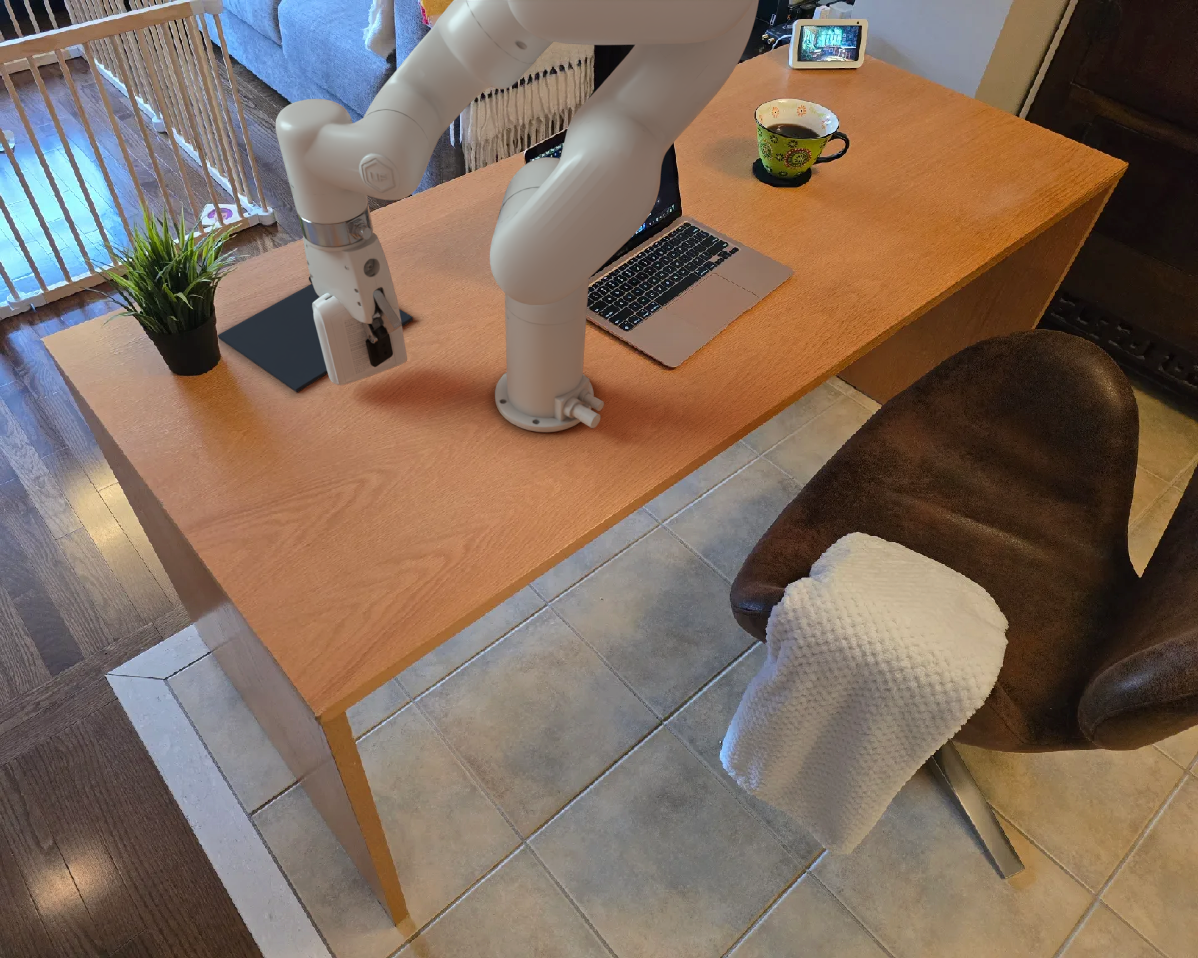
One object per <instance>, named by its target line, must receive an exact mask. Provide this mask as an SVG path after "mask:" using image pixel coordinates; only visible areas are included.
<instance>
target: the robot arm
mask: <svg viewBox="0 0 1198 958" xmlns="http://www.w3.org/2000/svg"><path fill="white" fill-rule="evenodd" d="M759 1H760V0H453V1H451V3H450V4H449V5H448V6H447V8H446V9H445V10H444V11H443V13H441V15H440V16H439V17H438V18H437V19H436V21H435V22H434V25H433V26H432V27H431V29H430V30H429V31H428V32H427V33H426V34H425V35H424V37H422V39H420V41H419V42H418V43H417V45H416V46H415V47H414V48H413V50H411V51H410V53H409V54H408V55H407V57H406V58H405V59H404V60H403V62H401V64H400V65H399V66H398V68H397V69H396V70H395V71H394V72H393V74H392V75H391V76H390V77H389V78H388V80H387V81H386V82H385V83H384V84H383V86H382V87H380V88H381V89H380V90H379V91H378V93H377V94H376V95H375V97H374V98H373V100H372V102H371V103H370V104H369V106H368V108H367V110H366V112H365V113H364V115H363V117H362V118H361V119H359V120H357V121H355V122H353V119H352V116H351V115H350V113H349V112H348V111H347V109H346V108H345V106H343V105H341V104H340V103H338V102H336V101H334V100H329V99H325V98H308V99H307V98H306V99H302V100H297V101H294V102H292V103H290V104H288V105H286V106H285V107H283V109H281V110H280V111H279V113H278V114H277V117H276V120H275V132H276V138H277V141H278V145H279V149H280V153H281V156H282V161H283V164H284V168H285V172H286V175H287V180H288V184H289V187H290V191H291V195H292V198H293V203H294V207H295V210H296V213H297V214H296V215H297V217H298V221H299V225H300V229H301V232H302V240H303V246H304V254H305V259H306V264H307V268H308V273H309V277H308V282H309V283H310V284H312V285H313V287H314V289H315V292H316V293H317V295H318V296H319V298H320V297H321V296H323V295H324V294H326V293H329V294H330V295H331V296H334V297H336V298H337V299H338V300H339V301H340V302H341V303H342V304H343V306H344V307H345V308H346V310H347V311H348V313H349V314H350V316H351V317H353V318H355V319H356V320H358V321H360V322H361V323H362V325H363V327H364V330H365V332H366V334H367V337H368V339H367V340H366V346H367V351H368V355H369V360H370V364H371V365H372V366H373V367H377V366H378V365H380V364H381V363H383V362H384V361H386V360H387V359H389V358H390V357H392V355H393V350H392V345H391V340H390V335H389V333H391V332H393V331H395V330H396V329H398V328H399V327H401V326H402V323H401V321H400V320H399V318H398V317H397V315H396V314H395V312H394V310H393V309H395V308H397V300H398V298H397V299H396V295H397V293H396V291H395V290H396V289H395V285H394V280H393V278H392V273H391V270H390V266H389V263H388V259H387V257H386V254H385V251H384V249H383V246H382V243H381V241H380V239H379V237H378V235H377V234H376V233H375V232H374V226H373V220H372V216H371V210H370V206H369V205H370V204H369V200H368V197H371V198H374V199H379V200H385V201H399V200H403V199H406V198H407V197H410V196H411V195H412V194H414V192H416V190H417V189H418V188H419V186H420V184H421V182H422V179H423V177H424V174H425V173H426V170H427V167H428V165H429V163H430V160H431V157H432V155H433V153H434V150H435V149H436V146H437V144H438V142H439V140H440V138H441V137H442V136H443V134H444V133H445V132H446V130H448V128H449V127H450V126H451V125H452V124H453V123H454V122H455V120H456V119H458V117H459V116H460V115H461V114H462V113H463V112H464V111H465V109H467V108H468V106H470V104H471V103H472V102H474V100H475V99H476V98H477V97H478V96H480V95H481V94H482V93H484V92H485V91H486V90H488V89H490V88H493V89H496V90H506V89H509V88H511V87H512V86H514V85H515V84H516V83H517V82H518V81H519V80H520V79H521V78H522V77H523V76H524V75H525V73H526V72H527V71H528V70H529V69H530V68H531V67H532V66H533V65H534V64H535V63H536V62H537V60H538V59H539V58H540V57H541V56H542V55H543V54H544V53H545V51H546V50H547V49H548V48H549V47H550V46H551V45H552V44H553V43H558V44H565V45H580V46H581V45H583V46H584V45H585V46H586V45H587V46H624V45H625V46H627V45H631V46H632V45H633V47H632V48H631V50H630V51H629V52H628V54H627V55H626V56H625V57H624V58H623V59H622V60H621V61H620V62H619V64H618V65H617V66H616V67H615V68H614V70H613V71H612V72H611V73H610V75H608V77H607V78H606V79H604V81H603V82H602V83H601V84H600V86H599V87H598V88H597V89H596V90H595V91H594V92H593V93H592V94H591V95H590V96H589V97H588V98H587V100H586V101H584V103H583V104H581V106H580V107H579V108H578V109H577V111H576V112H575V113H574V115H573V116H572V118H571V120H570V122H569V124H568V127H567V130H566V133H565V138H564V142H563V145H562V150H561V154H560V158H558V157H549V156H548V157H539V158H535V159H534V160H531V161H528V162H527V163H526V164H524V165H523V166H521V167H520V168H519V169H518V170H517V172H516V173H515V174H514V175H513V176H512V177H511V180H510V181H509V183H508V185H507V188H506V190H505V192H504V195H503V198H502V201H501V205H500V208H499V212H498V215H497V221H496V225H495V228H494V231H493V235H492V238H491V242H490V247H489V248H490V249H489V264H490V270H491V274H492V276H493V279H494V281H495V283H496V284H497V286H498V287H499V289H500V290H501V291H502V292H503V293H504V318H505V319H504V325H505V359H506V360H505V361H506V372H505V373H504V374H502V376H500V378H499V379H498V381H497V383H496V385H495V389H494V401H495V405H496V408H497V410H498V411H499V414H501V416H502V417H503V418H504V419H505V420H507V421H508V422H509V423H510V424H512V425H514V426H516V427H518V428H520V429H523V430H527V431H532V432H536V433H554V432H561V431H563V430H567V429H570V428H572V427H574V426H577V424H580V423H582V424H584V425H585V426H587V427H588V428H591V429H595V428H596V427H597V426H598V425H599V424H600V421H601V418H602V417H601V414H599V413H597V412H600V411H602V409H603V408H604V407H605V402H604V401H603V400H602V399H600V398H598V397H596V396H595V395H594V394H595V393H594V388H593V385H592V382H591V381H590V380H591V379H590V378H589V377H587V376H586V375H585V374H584V363H585V362H584V361H585V346H586V331H587V330H586V329H587V315H588V314H587V313H588V312H587V311H588V301H589V287H590V286H589V285H590V284H589V282H590V278H591V277H592V276H593V275H594V274H595V273H596V272H598V270H600V268H602V266H603V265H605V264H606V263H607V262H608V261H609V260H610V259H611V258H612V257H613V255H615V254H616V253H617V252H618V251H619V250H620V249H621V248H622V247H623V246H624V245H625V244H626V243H627V242H628V241H629V240H630V239H631V238H632V237H633V236H635V234H636V233H637V232H638V231H639V230H640V229H641V227H642V226H643V224H644V223H645V222H646V220H647V219H648V217H649V216H650V214H651V212H652V210H653V209H654V206H655V204H656V202H657V198H658V195H659V191H660V186H661V178H662V177H661V176H662V175H661V174H662V165H663V162H664V158H665V156H666V154H667V152H668V151H669V149H670V148H671V146H672V145H673V144H674V143H675V142H676V141H677V139H678V138H679V137H680V136H681V135H682V134H683V133H684V132H685V131H686V130H687V129H688V127H689V126H691V124H692V123H693V122H694V121H695V120H696V118H697V117H698V116H699V115H700V114H701V113H702V112H703V110H704V109H705V108H706V107H708V105H709V103H710V102H711V101H712V100H713V99H714V98H715V96H717V94H718V93H719V92H720V91H721V89H722V88H723V87H724V85H725V84H726V83H727V81H728V80H729V78H730V77H731V75H732V74H733V72H734V70H735V69H736V67H737V66H738V64H739V62H740V60H741V58H742V56H743V53H744V52H745V50H746V47H747V45H748V42H749V39H750V37H751V34H752V31H753V27H754V24H755V20H756V16H757V13H758V12H757V11H758V7H759ZM395 293H396V294H395ZM375 309H376V310H375ZM377 318H378V320H379V323H380V325H381V326H380V327H378V328H377V329H375V330H374V328H373V326H372V324H371V323H372V322H373V321H374V320H375V319H377ZM592 409H593V410H592ZM596 411H597V412H596Z"/></svg>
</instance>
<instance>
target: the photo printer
mask: <svg viewBox="0 0 1198 958" xmlns="http://www.w3.org/2000/svg"><path fill="white" fill-rule="evenodd" d="M395 294H396V299H397V308H395V309H393V310H394V312H395V314H396V315H397V317H398V318H399V320H400V321H401V318H400V312H399V309H400V306H399V300H398V296H397V293H396V292H395ZM312 307H313V312H314V313H313V315H314V321H315V325H316V329H317V333H318V336H319V340H320V344H321V348H322V352H323V356H324V360H325V364H326V368H327V372H328V374H327V376H328V379H329V380H330V382H331V383H332V384H334V385H336V386H340V387H341V386H346V385H350V384H352V383H356V382H358V381H361V380H364V379H367V378H369V377H372V376H375V375H377V374H380V373H384V372H385V371H389V370H392V369H394V368H396V367H399V366H401V365H403V364H405V363H407V362H408V354H407V349H406V341H405V337H404V336H405V335H404V331H403V327H402V326H401V327H399V328H398V329H396V330H395V331H393V332H391V333H389V335H390V340H391V345H392V350H393V355H392V357H390V358H389V359H387V360H386V361H384V362H383V363H381V364H380V365H378V366H377V367H373V366H372V365H371V364H370V360H369V355H368V351H367V346H366V340H367V339H368V337H367V334H366V332H365V330H364V327H363V325H362V323H361V322H360V321H358V320H356V319H355V318H353V317H351V316H350V314H349V313H348V311H347V310H346V308H345V307H344V306H343V304H342V303H341V302H340V301H339V300H338V299H337V298H336V297H334V296H331V295H330V294H329V293H326V294H324V295H323V296H321V297H320V298H318V299H317V300H315V301H314V302H313V303H312ZM375 310H376V309H375ZM371 324H372V326H373V328H374V330H375V329H377V328H378V327H380V326H381V325H380V323H379V320H378V318H377V319H375V320H374V321H373V322H372V323H371Z"/></svg>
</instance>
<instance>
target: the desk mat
mask: <svg viewBox="0 0 1198 958" xmlns="http://www.w3.org/2000/svg"><path fill="white" fill-rule="evenodd" d="M318 298H319V296H318V295H317V293H316V292H315V289H314V287H313V285H312V284H311V283H310V284H308V285H306V286H305V287H303V288H301V289H300V290H298V291H297V290H296V292H294V293H292V294H290V295H288V296H287V297H285V298H283V299H281V300H279V301H278V302H275V303H274V304H272V305H270V306H269V307H266V308H265V309H262V310H261V311H259V312H257V313H255V314H254V315H252V316H249V317H248V318H246V319H244V320H243V321H241V322H239V323H237V324H235V325H234V326H232V327H229V328H228V329H226V330H224V331H222V332H221V333H219V334H217V337H218V339H219V340H220V341H222V342H223V343H225V344H226V345H227V346H228V347H230V348H232V349H233V350H235V351H236V352H238V353H239V354H241V355H242V356H244V357H245V358H246V359H248V360H249V361H251V362H252V363H253V364H255V365H256V366H258V367H259V368H261V369H262V370H264V371H265V372H266V373H268V374H270V375H271V376H272V377H273V378H275V379H277V380H278V381H280V383H282V384H284V385H285V386H286V387H288V388H289V389H291V390H292V391H294V392H295V393H299V392H301V391H302V390H303V389H305V388H307V387H308V386H310V385H312V384H313V383H315V382H317V381H318V380H321V378H323V377H324V376H326V375H328V372H327V368H326V364H325V360H324V356H323V352H322V348H321V344H320V340H319V336H318V333H317V329H316V325H315V321H314V315H313V313H314V312H313V307H312V303H313V302H314V301H315V300H317V299H318ZM399 312H400V318H401V323H402V328H403V327H405V326H406V325H408V324H410V323H411V322H412V321H414V316H412V315H410V314H408V313H407V312H406V311H404V310H402V309H400V308H399Z"/></svg>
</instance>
